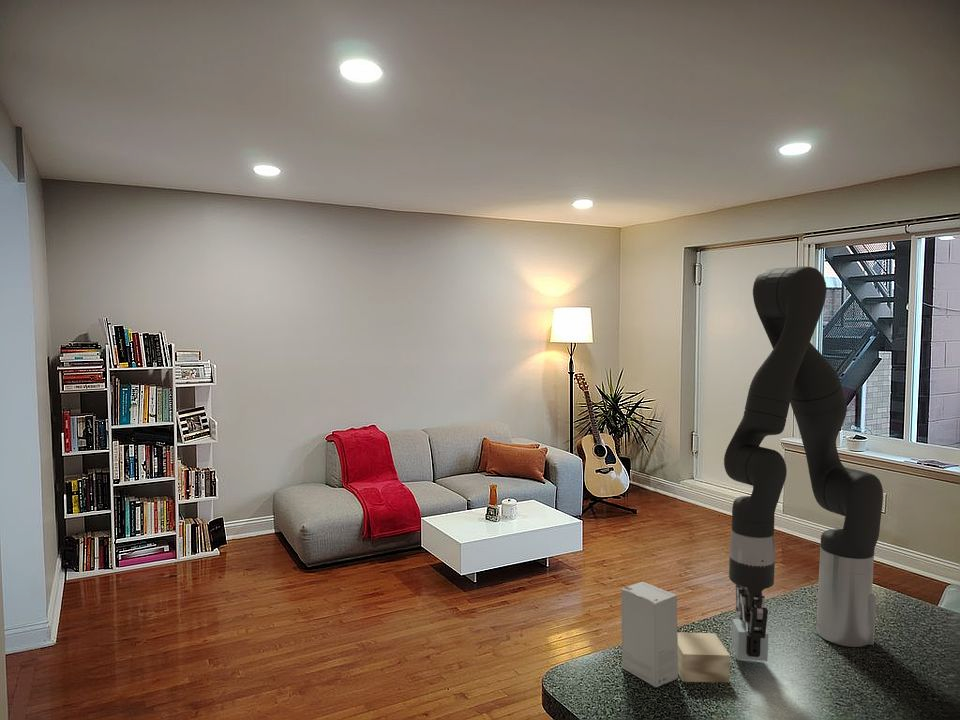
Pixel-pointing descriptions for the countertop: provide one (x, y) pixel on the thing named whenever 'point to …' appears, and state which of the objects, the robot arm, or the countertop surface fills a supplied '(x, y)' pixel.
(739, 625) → the grey-blue cube
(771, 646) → the countertop surface
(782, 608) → the countertop surface
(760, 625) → the robot arm
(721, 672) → the birch block
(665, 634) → the skincare box
